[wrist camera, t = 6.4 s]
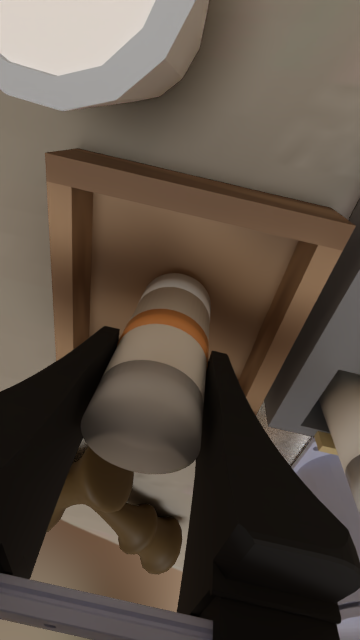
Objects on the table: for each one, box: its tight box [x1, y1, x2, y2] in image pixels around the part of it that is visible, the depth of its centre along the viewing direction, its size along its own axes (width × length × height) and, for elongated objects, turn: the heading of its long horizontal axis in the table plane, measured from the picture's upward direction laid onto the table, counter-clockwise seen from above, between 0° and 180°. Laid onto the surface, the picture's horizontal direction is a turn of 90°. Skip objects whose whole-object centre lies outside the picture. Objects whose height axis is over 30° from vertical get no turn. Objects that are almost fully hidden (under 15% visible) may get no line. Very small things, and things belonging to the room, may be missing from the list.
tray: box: [45, 149, 356, 415], centre depth 16 cm, size 12×12×3 cm
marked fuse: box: [81, 273, 211, 474], centre depth 12 cm, size 4×4×8 cm
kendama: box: [46, 446, 182, 574], centre depth 27 cm, size 6×10×20 cm
